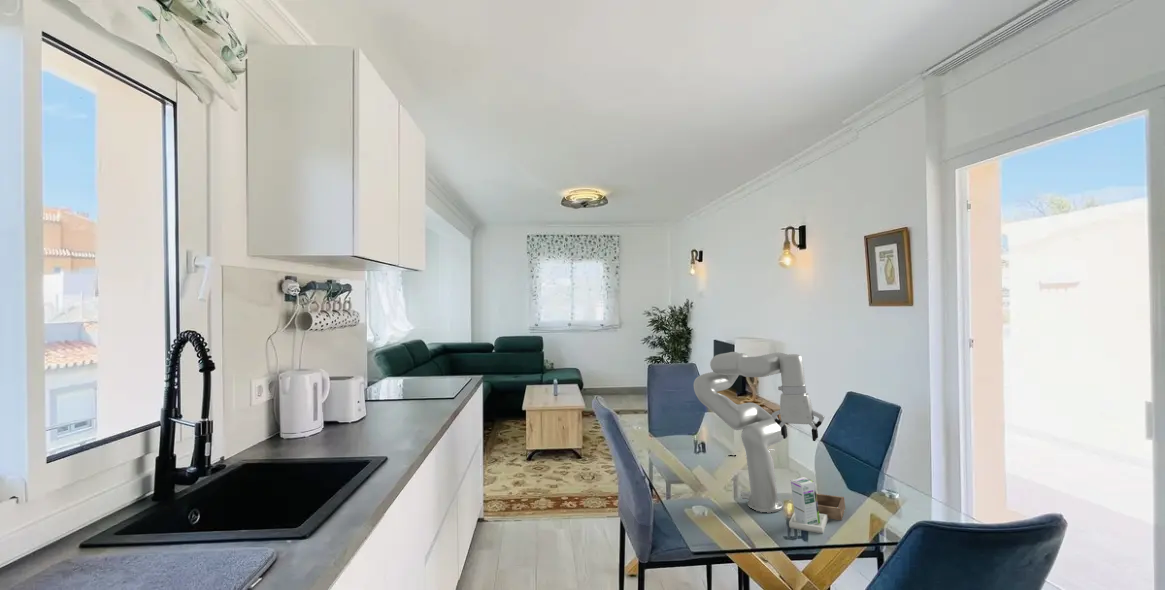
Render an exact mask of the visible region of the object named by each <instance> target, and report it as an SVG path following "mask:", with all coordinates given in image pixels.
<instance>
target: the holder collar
mask: <svg viewBox="0 0 1165 590" xmlns="http://www.w3.org/2000/svg"><path fill="white" fill-rule="evenodd" d="M816 494H817V502H818V509H819V513H820V514H827V517H828V520H829V519H830V520H835V521H836V520H837V521H842V520H843V517H844V514H845V511H846V502H845V501H846V500H845V497H844V496H838V495H831V494H829V495H828V494H822V493H816ZM837 507H838V508H837ZM844 510H845V511H844Z"/></svg>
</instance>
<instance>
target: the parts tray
mask: <svg viewBox="0 0 1165 590" xmlns="http://www.w3.org/2000/svg"><path fill="white" fill-rule="evenodd" d="M819 517H820V523H819V524H815V525H809V524H803V523H799V522H797V521H796V519H795V512H794V511H793V513H792V516H791V518H790V520H789V521H788V526H789V529H793V528H794V529H795V530H798V529H799V530H800V531H804V532H805V531H806V532H809V533H810V532H811V533H816V534H817V533H818V534H822V533H823V534H824V532H825V529H826V526H827V524H828V521H829V518H828V517H827V514H820V513H819Z"/></svg>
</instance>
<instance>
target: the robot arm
mask: <svg viewBox="0 0 1165 590" xmlns="http://www.w3.org/2000/svg"><path fill="white" fill-rule="evenodd" d="M709 366H710V369H711V372H706V373H703V374H700V375H698V376H697V377H696V378H695V379H694V381H693V391H694V394H695V396H696V397H697V400H698V401H699V402H700V403H701V404H702V405H703V406H705V407H706V408H708V409H709V410H710V411H712V412H713V413H714V414H715V415H716V416H718V418H720V419H721V421H723V423H725V424H726V425H728V427H730V428H732V429H733V430H734V431H741V441H742V444H743V449H745V452H746V456H745V457H746V464H747V465H746V466H747V472H748V480H749V481H748V482H749V488H750V491H748V492H747V491H744V490H743V491H740V497H741V498H742V499H743V500H748V501H747V507H748V506H749V507H750V508H752V509H754V510H756V511H755V512H757V511H760V512H759V513H762V512H767V513H766V514H770V513H771V512H772V513H777V512H780V511H781V510H782V509H783V507H784V505H783V502H782V501H781V500H780V499H779V498H778V491H777V483H776V482H777V480H776V473H775V465H774V459H773V457H772V454H771V453H770V452H769V451H768V449H769V448H768V447H770V446H773V445H776V444H778V443H780V442H782V441H783V440H784V439H787V438H788V431H787V430H788V428H787V424H796V425H809V426H810V427H811V428H812V429H811V437H812V438H811V439H812V441H813V442H816V440H818V438H819V433H818V428H819V427H820V426H821V425H822V424H823V423H824V419H825V417H826V416H825V415H823V414H821V413H820V412H817V411H816V410H814V409H813V406H812V405H813V404H812V401H811V397H810V394H809V393H808V392H807V389H806V387H807V386H806V379H805V370H804V369H805V368H804V361H803V357H802V355H800V354H794V353H790V354H787V353H783V352H772V353H767V354H763V355H757V356H749V355H747V354H746V353H742V352H741V353H740V352H737V351H730V352H724V353H719V354H715V355H714V356H713V357H711V360H710V363H709ZM777 374H778V375H779V374H780V378H781V385H780V386H778V388H777V389H778V391H781V392H782V393H780V397H779V398H780V400H779V410H776V411H774V412H772V413H771V414H770V413H769V412H768V411H766V410H765V409H764V408H763V407H762V406H760V405H759V404H757V403H754V402H745V403H741V404H739V403H738V404H737V403H735V402H734V401H733V400H732V399H731V398H729V397H728V396H727V395H724V394H722V393H719V392H720V391H721V392H722V391H725V390H728V389H730V388H731V387H732V386H733V385H734V383H735V382H736V380H737V379H738V377H739V376H742V377H746V378H765V377H769V376H773V375H777ZM779 415H780V418H778V416H779ZM815 417H816V418H817V419H818V420H817V422H816V421H815V420H814V418H815ZM749 507H748V508H749ZM750 508H749V509H750ZM752 509H751V510H752ZM754 510H753V511H754Z"/></svg>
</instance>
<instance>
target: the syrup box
mask: <svg viewBox="0 0 1165 590" xmlns="http://www.w3.org/2000/svg"><path fill="white" fill-rule="evenodd" d="M790 489H791V496H792V503H793V510H794V511H793V513H794V512H795V519H796V521H797V522H799V523H803V524H809V525H815V524H819V523H820V517H819V509H818V502H817V494H818V493H817V487H816V481H815V480H812V479H810V478H808V477H805V476H802V477H799V478H795V479H791V480H790Z"/></svg>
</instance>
